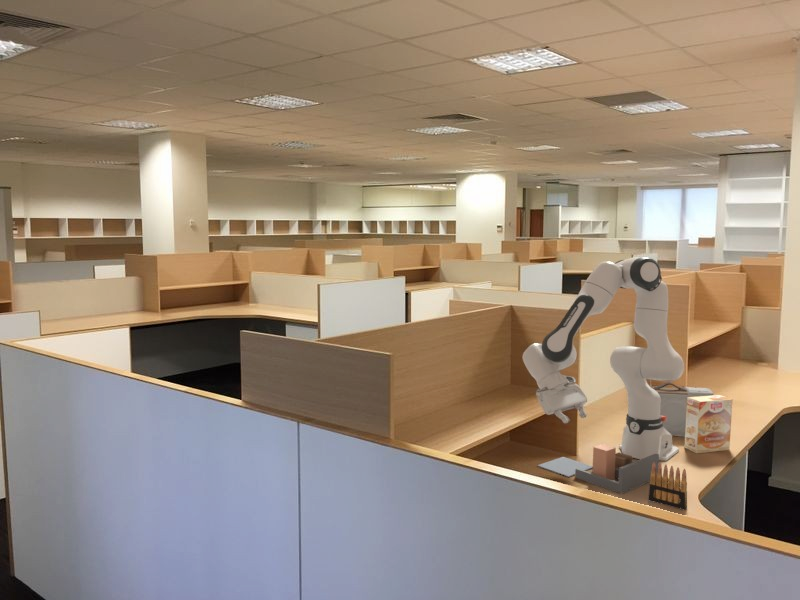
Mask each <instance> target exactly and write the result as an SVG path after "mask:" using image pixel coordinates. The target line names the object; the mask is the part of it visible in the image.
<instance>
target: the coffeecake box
mask: <svg viewBox="0 0 800 600" xmlns="http://www.w3.org/2000/svg"><path fill="white" fill-rule="evenodd" d="M732 412H733V398H730V397H728V396H724V395H722V394H713V395H712V396H699V397H687V412H686V429H685V436H684V448H685V449H687V450H689V451H691V452H692V453H695V454H703V453H711V452H712V453H713V452H714V453H715V452H721V451H730V450H731V449H730V446H731V431H732V414H733V413H732Z"/></svg>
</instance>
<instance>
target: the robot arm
mask: <svg viewBox="0 0 800 600" xmlns="http://www.w3.org/2000/svg"><path fill="white" fill-rule="evenodd" d="M662 279H663V277H662V272H661V268H660V265H659V263H658V262H657V261H656V260H655V259H654V258H650V257H647V256H641V257H640V256H639V257H637V256H635V257H630V258H629V257H628V258H626V259H621V260H618V261H616V262H615V263H614V262H612V261H608V260H607V261H601V262H599V264H597V265H596V267H595V268H594V269H593V270H592V272H591V273H590V274H589V276H588V277H587V279H586V280H585V282H584V283H583V285H582V287H581V289H580V291H579V292H578V294H577V296H576V297H575V300H574V302H573V303H572V304H571V306H570V308H569V309H568V310H567V312H566V313H565V315H564V317H563V318H562V319H561V321H560V323H559V324H558V325H557V326H556V328H554V329H553V330H552V331H550V332H549V333H548V334H547V335H546V336H545V337H543V340H542V342H541V343H537V342H534V343H532V344H530V345H529V346H528V347H527V348H525V350H524V352H523V353H522V361H523V364H524V365H525V368H526V369H527V371H528V372H529V374H530V375H531V377H532V378H534V380H535V381H536V384H537V386H538V388H537V389H536V391H535V396H536V397H537V400H538V403H539V405H540V407H541V409H542V410H543V413H544V414H546V415H548V416H550V415H555V416H556V417H557V418H559V420H561V421H562V423H563V424H568V423H569V422H570V421H571V419H570V418H569V416H567V415H565V414H564V413H563V412H565V411H568V410H572V409H576V410H577V411H579V414H578V416H579V417H580V418H581V419H585V418H586V417H587V416H588V414H587V413H586V410H585V406H584V405H585V404H586V403H587V402H588V397H587V395H586V394H585V392H584V390H583V389H582V388H581V387H580V385H579V384H577V383H576V382H577V381H576V378H575V377H574V376H570V375H569V376H568V375H565V374H562V373H561V372H560V371H562V370H564V369H567V368H570V367H571V366H572V365H574V364H575V362H576V360H577V357H578V353H577V349H576V347H575V345H574V338H575V336H576V335H577V333H578V331H579V329H580V328H581V327H582V326H583V323H584V322H585V321H586V319H587V318H589V317H590V316H593V315H600V314H602V313H603V312H604V311H605V310H606V309H607V308H608V307H609V305H610V303H611V302H612V300H613V299H614V297H615V295H616V293H617V291H619V289H628V290H629V289H630V290H634V292H635V295H636V302H635V307H634V308H635V309H634V310H635V311H634V318H633V329H634V331H635V333H636V334H637V335H638V336H639V337H641V338H642V339H644V340H645V341H646V344H647V345H646V346H647V347H639V346H631V345H628V346H627V345H625V346H617V347H615V348H614V349H613V350H612V352H611V354H610V357H609V363H610V367H611V368H612V370H613V372H614V373H616V374H617V376H619V378H620V379H621V381H622V382H623V384H624V387H625V389H626V393H627V413H626V417H625V421H626V422H625V423H626V425H625V426H624V427H623V432H622V439H621V444H619V445H618V448H619V449H620V450H621V453H623V454H626V455H630V456H632V459H636V460H637V459H638V460H640V459H643V458H645V457H648V456H650V455H653V454H659V461H662V462H663V461H668V460H669V459H671V458H672V457H673V456H674V455H676V454H677V453H678V452H680V449H679V447H678V446H675V445H673V436H672V435H671V434H670V433H669V432H668V431H667V430H666V429H665V428H664V427H663V424H662V421H664V422H665V421H666V419H667V418H666V416H662V415H661V416H660V410H661V397H660V395H659V394H658V392H657V391H655V390H654V389H652V388H651V387H650V384H649V383H648V381H647V380H650V379H651V381H652V380H654V381H658V382H659V381H660V382H675V381H677V380H679V379H680V378H681V377H682V375H683V374H684V371H685V363H684V360H683V357H682V356H681V355H680V353H678V352H677V351H676V350H675V349H674V347H673V346H672V344H671V342H670V340H669V336H668V315H669V304H670V303H669V300H670V298H669V289H668V285H667V283H665V282H664V281H663V280H662Z"/></svg>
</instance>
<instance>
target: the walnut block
mask: <svg viewBox="0 0 800 600" xmlns="http://www.w3.org/2000/svg"><path fill="white" fill-rule="evenodd" d="M632 461H633V458H632V456H630V455H626V454H623V453H622V452H616V455H615V468H617V469H619V468H620V467H622V466H625V465H627V464H630V463H632Z"/></svg>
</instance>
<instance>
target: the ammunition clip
mask: <svg viewBox="0 0 800 600" xmlns="http://www.w3.org/2000/svg"><path fill="white" fill-rule="evenodd" d="M662 467H663V468H662ZM662 470H663V471H662ZM668 470H669V471H668ZM686 470H687V469H686V468H683V470H682V472H681V470H680V468H679V466H677V468H676V470H675V472H674V467H673V465H671V466H670V469H668V464H665V465H664V466H662V464H661V462H659V465H658V472H657V477H656V465H655V462H653V465H652V471H651V478H650V483H649V489H648V499H647V500H648V501H649V500H650V502H653V501H654V503H657V502H658V503H657V504H661V503H662V505H666V506H669V507H673V508H675V509H676V508H677V509H680V508H681V509H680V510H683V509H684V510H683V511H685V510H686V509H687V508H688V491H687V489H688V487H687V486H688V483H687V471H686ZM668 473H669V474H668ZM681 473H682V475H681Z"/></svg>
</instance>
